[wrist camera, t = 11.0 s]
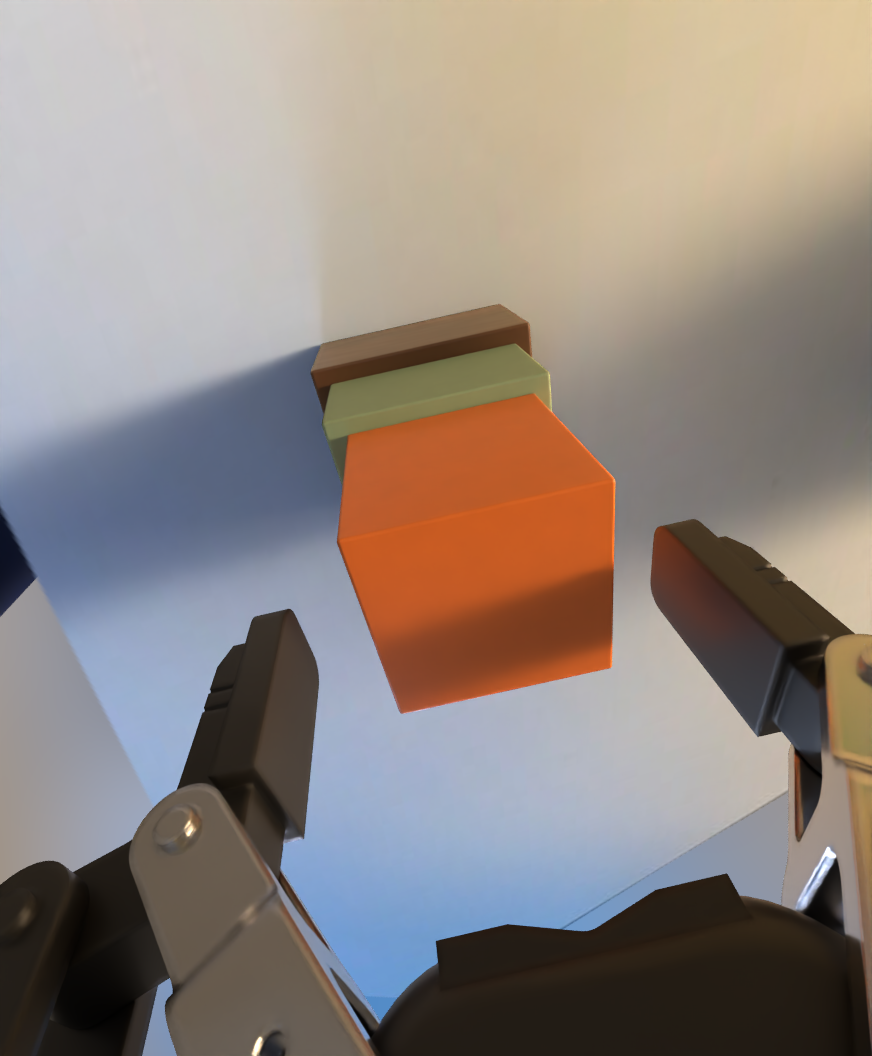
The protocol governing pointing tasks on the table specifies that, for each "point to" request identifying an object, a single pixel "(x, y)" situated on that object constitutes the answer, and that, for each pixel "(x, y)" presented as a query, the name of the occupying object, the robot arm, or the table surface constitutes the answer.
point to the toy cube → (479, 551)
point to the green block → (429, 392)
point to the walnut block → (417, 345)
